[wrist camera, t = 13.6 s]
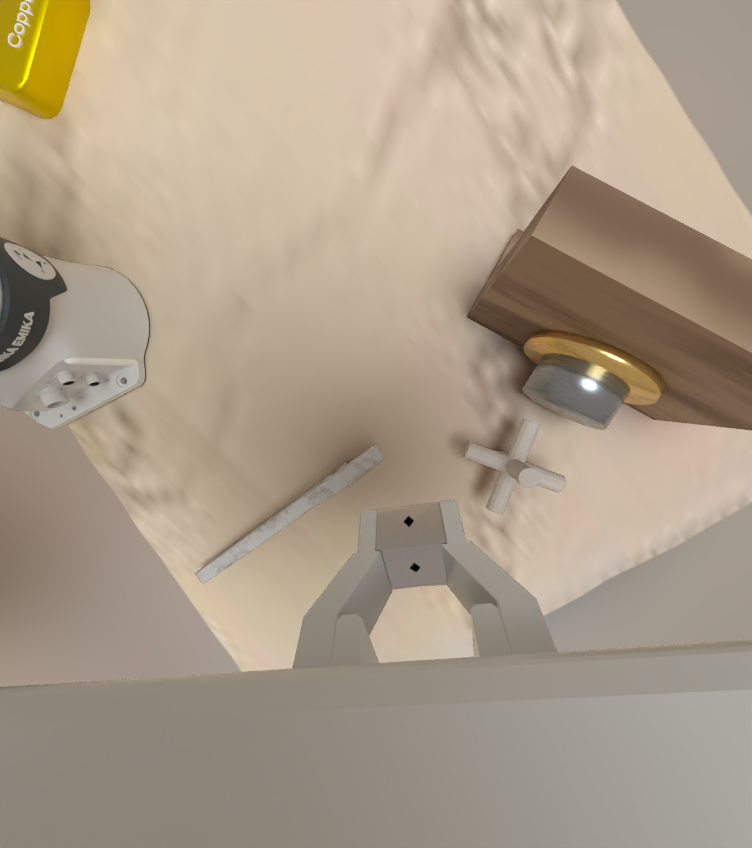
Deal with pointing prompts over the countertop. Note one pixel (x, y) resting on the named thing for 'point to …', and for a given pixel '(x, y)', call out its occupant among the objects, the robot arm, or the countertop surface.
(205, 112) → the countertop surface
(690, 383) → the board
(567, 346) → the door knob
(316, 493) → the wrench
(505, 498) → the pipe connector
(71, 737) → the robot arm
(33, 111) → the element tile
